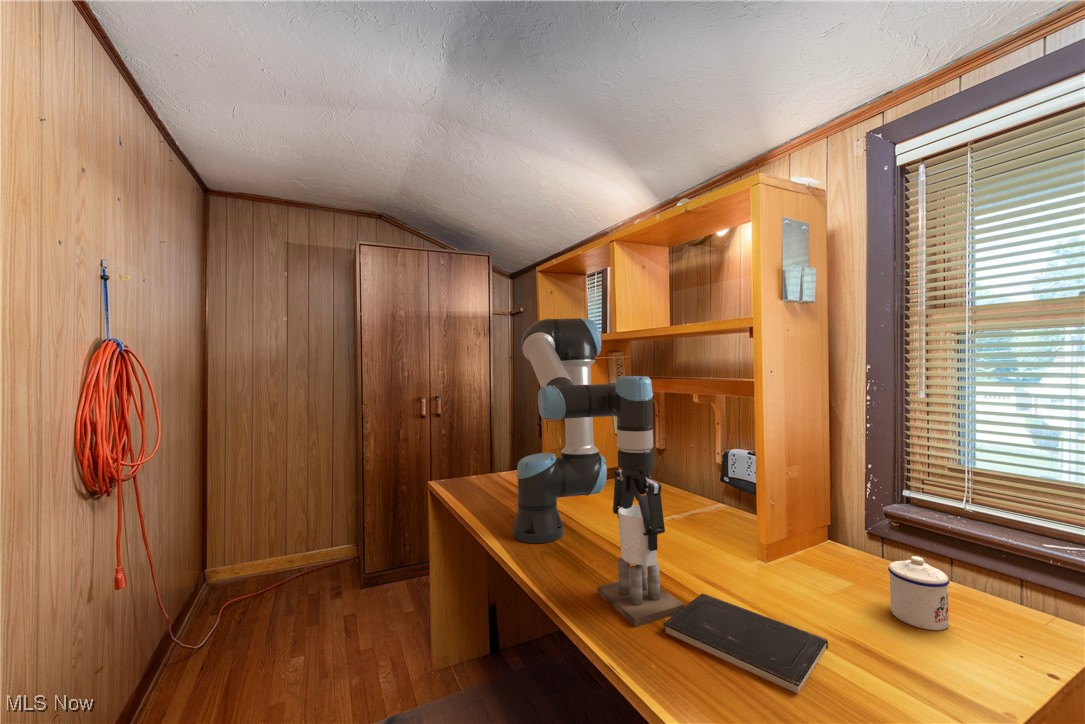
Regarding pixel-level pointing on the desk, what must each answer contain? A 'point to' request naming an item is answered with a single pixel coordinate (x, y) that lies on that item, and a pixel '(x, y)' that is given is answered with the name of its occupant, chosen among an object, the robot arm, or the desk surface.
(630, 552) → the white cup
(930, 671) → the desk surface
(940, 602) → the lidded ceramic jar
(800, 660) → the hardcover book
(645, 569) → the peg stand
